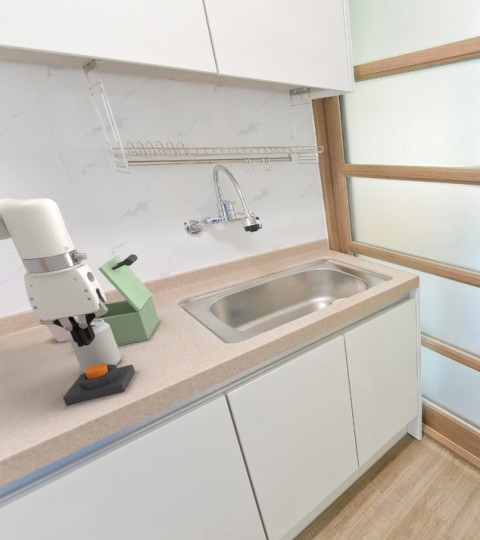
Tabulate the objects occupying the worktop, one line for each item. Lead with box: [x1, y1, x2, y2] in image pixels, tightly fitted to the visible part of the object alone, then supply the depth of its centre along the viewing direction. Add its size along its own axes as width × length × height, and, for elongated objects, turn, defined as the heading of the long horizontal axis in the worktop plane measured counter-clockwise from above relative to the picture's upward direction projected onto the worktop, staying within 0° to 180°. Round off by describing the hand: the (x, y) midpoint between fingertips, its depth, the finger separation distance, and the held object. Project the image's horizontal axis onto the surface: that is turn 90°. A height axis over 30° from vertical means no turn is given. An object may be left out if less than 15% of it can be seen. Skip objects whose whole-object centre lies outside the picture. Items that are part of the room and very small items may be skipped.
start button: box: [84, 363, 108, 379], centre depth 73 cm, size 4×4×2 cm
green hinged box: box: [77, 295, 160, 347], centre depth 96 cm, size 14×13×9 cm
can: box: [68, 319, 122, 373], centre depth 81 cm, size 8×8×12 cm
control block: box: [62, 364, 136, 407], centre depth 74 cm, size 10×8×4 cm
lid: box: [97, 253, 153, 312], centre depth 94 cm, size 14×13×6 cm
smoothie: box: [46, 325, 70, 343], centre depth 94 cm, size 6×6×14 cm
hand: (86, 342), depth 71 cm, fingers closed
